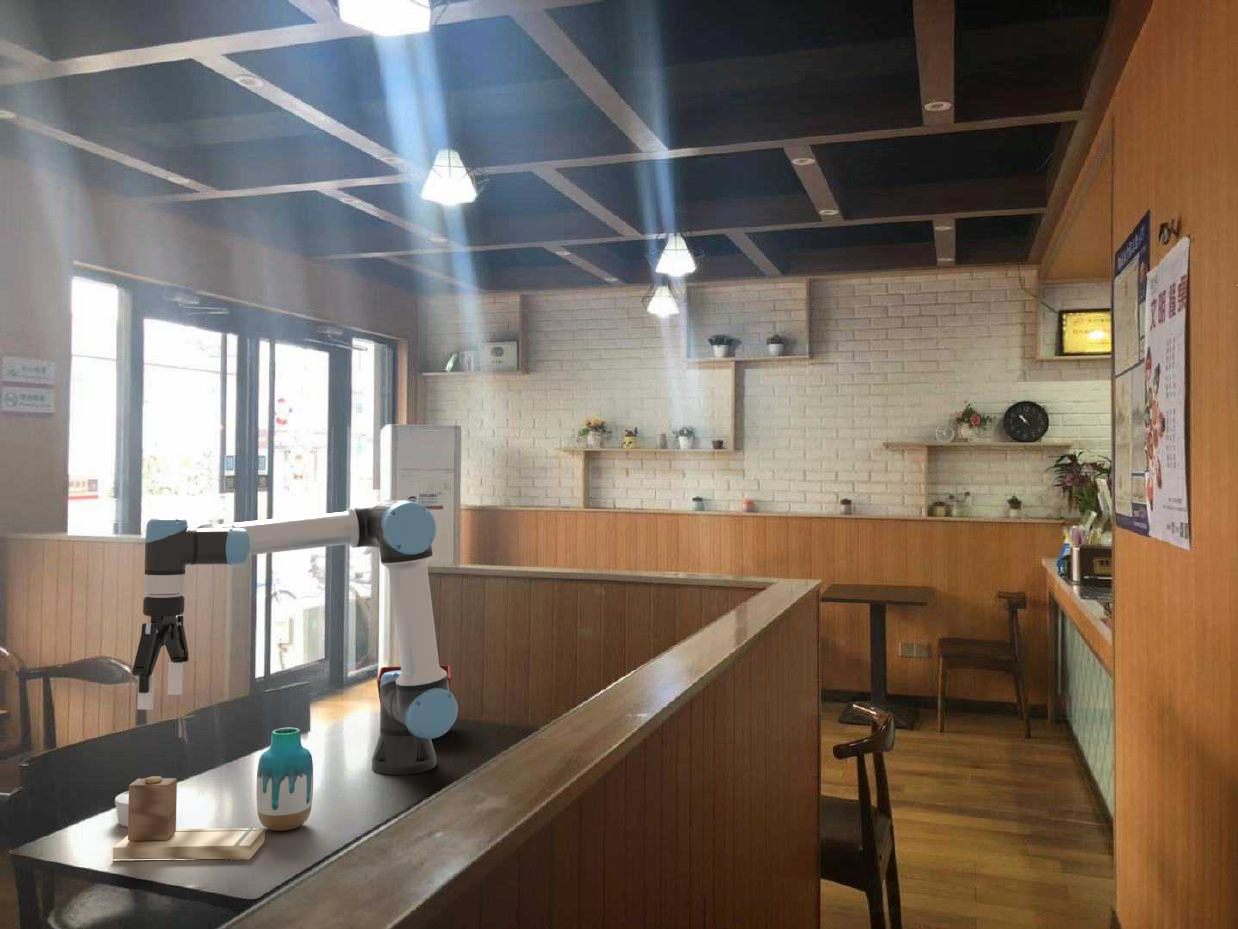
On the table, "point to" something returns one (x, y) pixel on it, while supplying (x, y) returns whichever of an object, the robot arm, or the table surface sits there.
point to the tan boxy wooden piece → (152, 808)
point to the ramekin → (122, 808)
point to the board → (195, 845)
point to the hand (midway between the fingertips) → (160, 701)
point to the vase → (284, 782)
